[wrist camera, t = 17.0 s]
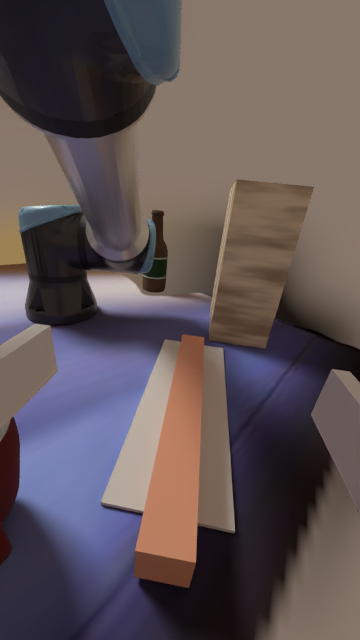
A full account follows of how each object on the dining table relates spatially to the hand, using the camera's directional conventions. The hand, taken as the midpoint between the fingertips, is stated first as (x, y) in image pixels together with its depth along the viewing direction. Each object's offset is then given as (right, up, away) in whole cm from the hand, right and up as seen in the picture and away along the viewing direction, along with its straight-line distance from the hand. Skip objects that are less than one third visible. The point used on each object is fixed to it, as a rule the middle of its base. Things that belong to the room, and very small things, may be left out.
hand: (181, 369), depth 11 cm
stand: (+13, +1, +47) cm, 48 cm away
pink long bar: (0, -10, +19) cm, 22 cm away
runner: (+1, -9, +23) cm, 25 cm away
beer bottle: (-9, +13, +67) cm, 69 cm away
